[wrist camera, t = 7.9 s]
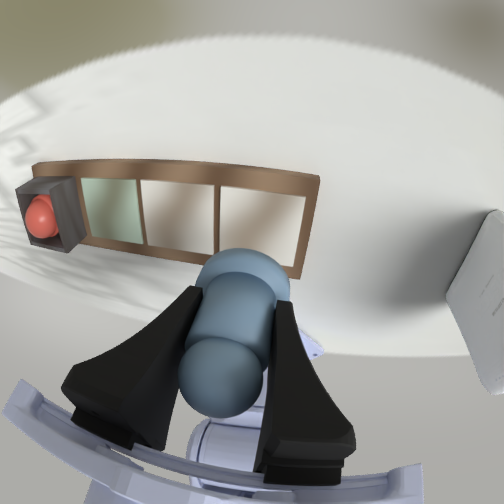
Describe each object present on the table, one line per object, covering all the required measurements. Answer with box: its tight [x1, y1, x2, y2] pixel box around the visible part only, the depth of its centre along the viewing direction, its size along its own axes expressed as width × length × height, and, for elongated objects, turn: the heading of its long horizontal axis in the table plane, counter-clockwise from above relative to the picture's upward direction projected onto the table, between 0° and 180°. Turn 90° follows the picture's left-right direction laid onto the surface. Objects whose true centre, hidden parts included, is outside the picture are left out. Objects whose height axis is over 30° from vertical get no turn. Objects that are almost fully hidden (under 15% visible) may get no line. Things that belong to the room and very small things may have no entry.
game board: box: [15, 159, 320, 280], centre depth 19 cm, size 26×8×4 cm, turn 86°
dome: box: [25, 194, 59, 238], centre depth 19 cm, size 4×4×4 cm
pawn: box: [177, 248, 290, 419], centre depth 11 cm, size 5×5×7 cm
